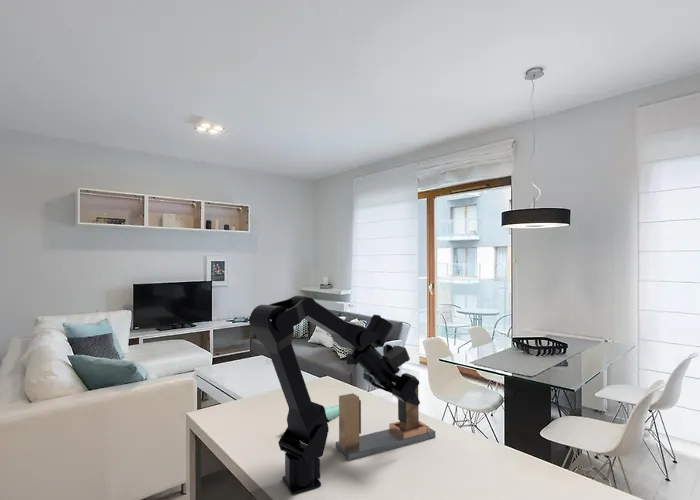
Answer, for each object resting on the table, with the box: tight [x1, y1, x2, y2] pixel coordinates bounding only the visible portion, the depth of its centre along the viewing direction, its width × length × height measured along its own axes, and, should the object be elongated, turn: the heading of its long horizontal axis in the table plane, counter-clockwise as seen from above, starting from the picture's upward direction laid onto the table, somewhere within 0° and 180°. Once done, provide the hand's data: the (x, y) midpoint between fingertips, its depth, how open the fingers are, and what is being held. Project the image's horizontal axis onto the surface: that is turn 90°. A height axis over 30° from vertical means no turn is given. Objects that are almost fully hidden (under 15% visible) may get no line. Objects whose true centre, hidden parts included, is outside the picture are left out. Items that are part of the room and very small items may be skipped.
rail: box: [335, 392, 437, 461], centre depth 100 cm, size 26×7×14 cm, turn 118°
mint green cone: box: [324, 404, 339, 422], centre depth 116 cm, size 5×6×27 cm
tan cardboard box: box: [397, 385, 420, 431], centre depth 103 cm, size 5×3×12 cm, turn 118°
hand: (408, 398), depth 103 cm, fingers open, 9 cm apart
